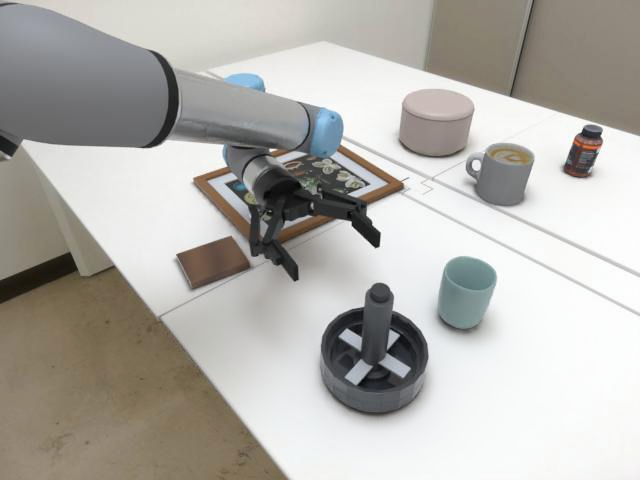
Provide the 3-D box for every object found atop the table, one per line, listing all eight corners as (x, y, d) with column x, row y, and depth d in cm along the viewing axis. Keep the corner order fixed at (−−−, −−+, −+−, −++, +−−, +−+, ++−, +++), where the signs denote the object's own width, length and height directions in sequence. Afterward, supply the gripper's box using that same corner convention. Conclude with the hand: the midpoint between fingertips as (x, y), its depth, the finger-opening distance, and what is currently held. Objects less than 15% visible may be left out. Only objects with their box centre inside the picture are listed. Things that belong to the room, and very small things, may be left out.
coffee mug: (529, 192, 103) (543, 152, 97) (509, 211, 97) (522, 170, 91) (476, 171, 110) (485, 133, 104) (454, 188, 105) (462, 148, 98)
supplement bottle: (595, 176, 108) (614, 132, 101) (573, 179, 107) (590, 135, 100) (579, 164, 113) (596, 121, 105) (557, 166, 112) (573, 123, 105)
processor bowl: (358, 436, 59) (360, 413, 56) (303, 354, 69) (302, 331, 66) (444, 385, 65) (451, 361, 61) (382, 316, 75) (385, 293, 71)
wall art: (404, 183, 104) (259, 246, 87) (403, 188, 105) (259, 252, 88) (323, 133, 123) (192, 177, 106) (323, 138, 124) (193, 183, 107)
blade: (382, 414, 60) (394, 339, 50) (319, 369, 66) (317, 293, 56) (424, 361, 67) (441, 284, 57) (363, 324, 72) (369, 248, 62)
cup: (426, 322, 74) (435, 277, 68) (445, 293, 79) (455, 249, 72) (472, 344, 70) (487, 299, 64) (489, 312, 75) (504, 268, 69)
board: (192, 289, 80) (190, 283, 79) (177, 260, 86) (175, 254, 85) (250, 267, 84) (249, 261, 83) (232, 241, 90) (231, 235, 89)
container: (384, 137, 125) (388, 95, 117) (435, 122, 131) (442, 82, 124) (427, 165, 112) (434, 121, 105) (481, 148, 119) (491, 105, 112)
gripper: (334, 184, 85) (406, 247, 71) (207, 226, 76) (260, 308, 62) (335, 148, 81) (411, 208, 67) (199, 188, 71) (254, 268, 57)
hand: (339, 256), depth 64 cm, fingers open, 13 cm apart
